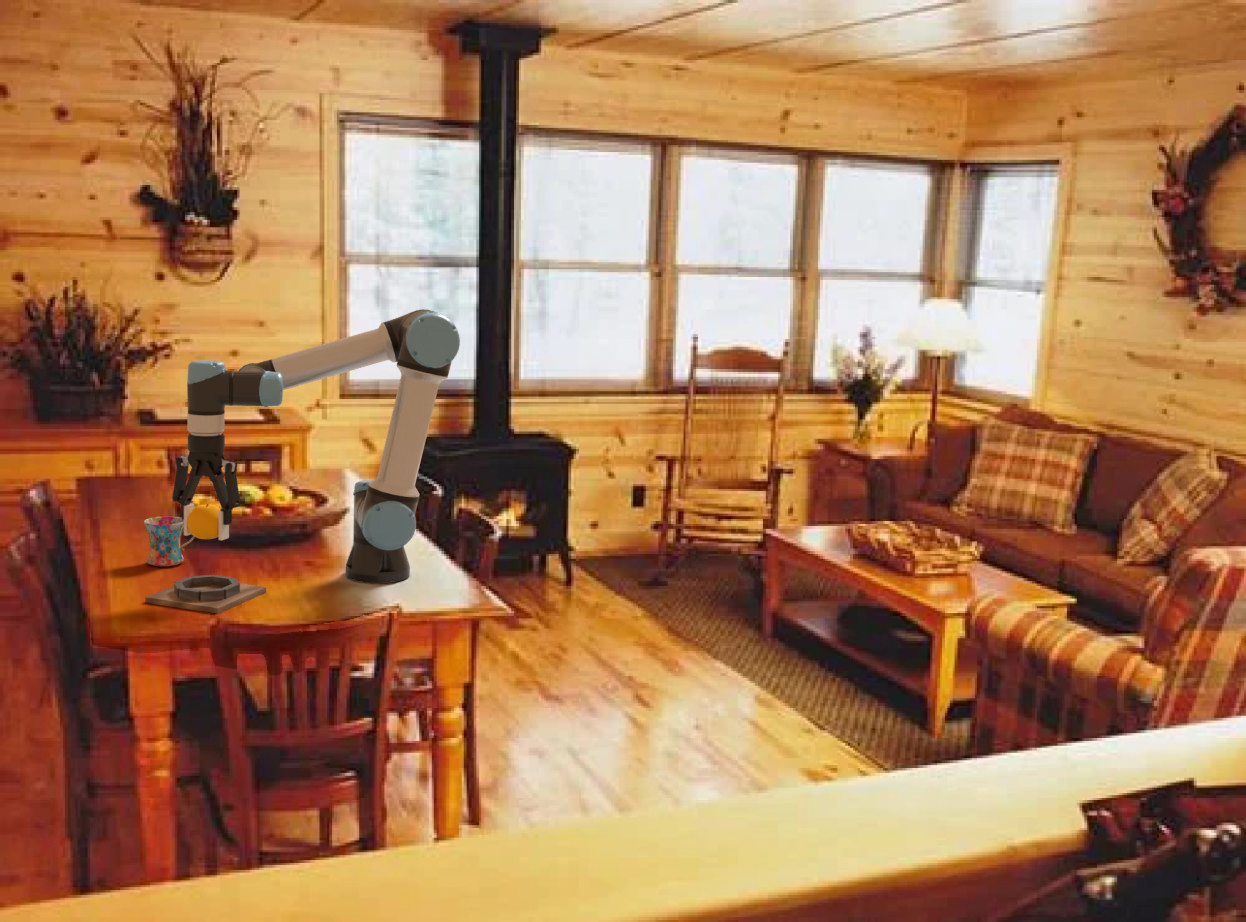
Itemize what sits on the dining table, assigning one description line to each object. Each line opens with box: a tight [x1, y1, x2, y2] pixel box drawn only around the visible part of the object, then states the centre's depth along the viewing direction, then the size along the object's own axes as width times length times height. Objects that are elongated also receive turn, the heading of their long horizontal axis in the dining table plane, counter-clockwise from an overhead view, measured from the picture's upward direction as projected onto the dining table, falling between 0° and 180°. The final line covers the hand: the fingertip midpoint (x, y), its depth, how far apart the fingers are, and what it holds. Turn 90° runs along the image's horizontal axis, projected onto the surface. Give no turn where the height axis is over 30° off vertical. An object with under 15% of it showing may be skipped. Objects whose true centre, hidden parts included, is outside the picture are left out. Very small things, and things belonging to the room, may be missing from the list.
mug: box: [143, 515, 195, 567], centre depth 295 cm, size 12×9×11 cm
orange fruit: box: [187, 503, 221, 540], centre depth 268 cm, size 8×8×8 cm
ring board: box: [144, 574, 267, 615], centre depth 270 cm, size 18×18×3 cm
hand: (206, 536), depth 268 cm, fingers closed on orange fruit, 8 cm apart
